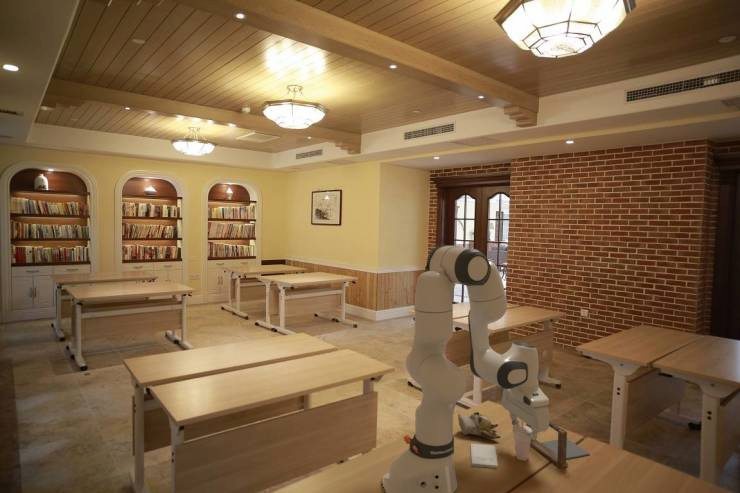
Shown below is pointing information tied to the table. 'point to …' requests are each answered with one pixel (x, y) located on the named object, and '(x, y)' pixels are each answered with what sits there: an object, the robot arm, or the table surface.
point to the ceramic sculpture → (477, 425)
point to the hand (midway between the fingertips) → (523, 431)
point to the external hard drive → (484, 456)
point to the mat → (571, 450)
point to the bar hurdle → (556, 459)
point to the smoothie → (522, 441)
